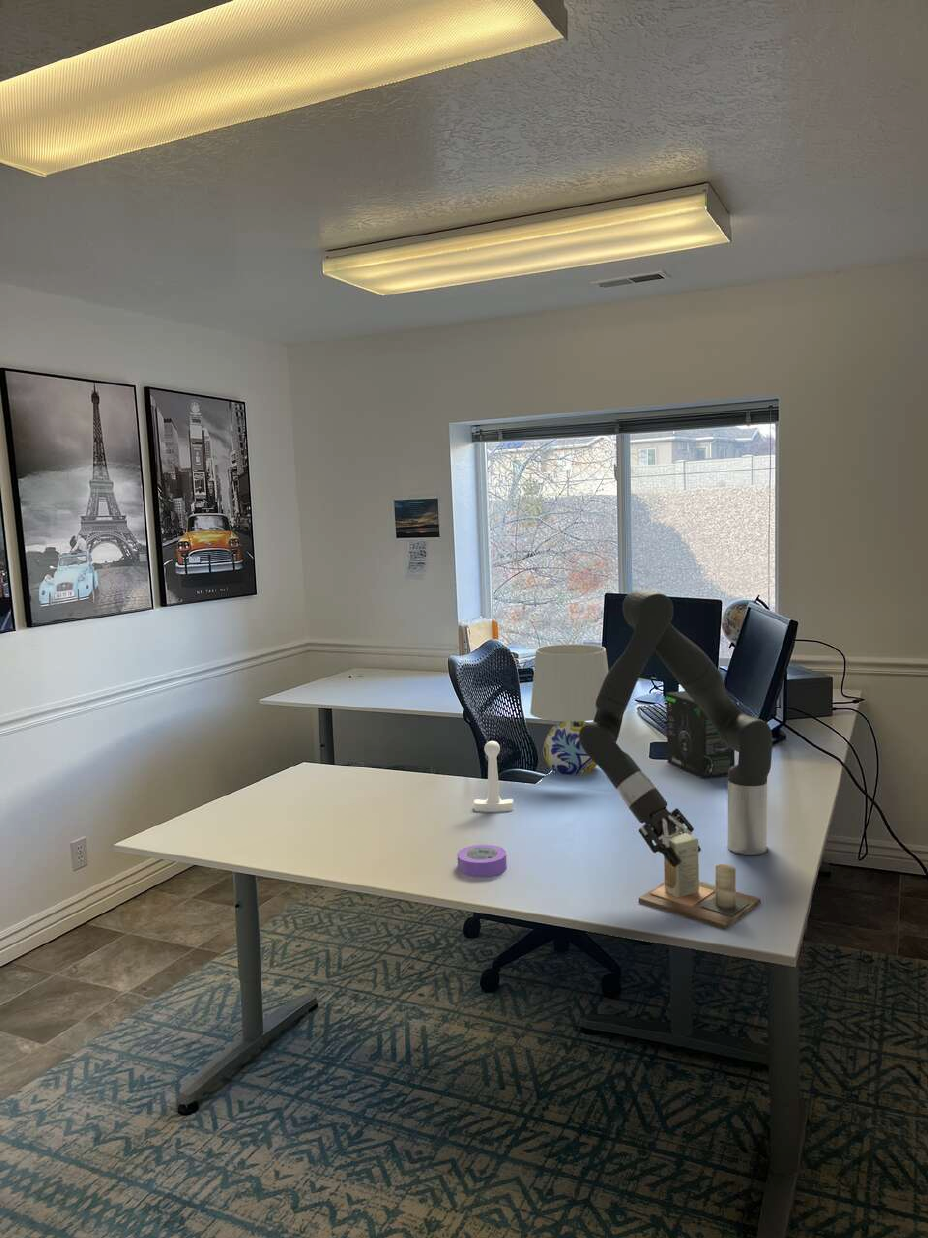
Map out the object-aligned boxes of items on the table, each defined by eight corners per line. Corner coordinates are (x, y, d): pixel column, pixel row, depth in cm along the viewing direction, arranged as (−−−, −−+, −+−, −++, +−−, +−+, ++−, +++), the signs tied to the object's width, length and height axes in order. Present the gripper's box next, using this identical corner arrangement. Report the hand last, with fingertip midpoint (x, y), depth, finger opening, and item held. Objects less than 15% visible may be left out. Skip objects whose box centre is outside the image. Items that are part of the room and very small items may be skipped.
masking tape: (447, 869, 212) (447, 854, 211) (481, 855, 220) (481, 840, 220) (482, 882, 204) (482, 866, 203) (516, 867, 212) (516, 852, 211)
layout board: (676, 879, 202) (676, 839, 201) (760, 903, 188) (761, 861, 187) (638, 902, 190) (638, 860, 189) (725, 930, 177) (725, 885, 175)
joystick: (474, 812, 252) (472, 743, 250) (475, 803, 260) (473, 736, 257) (513, 811, 251) (511, 742, 249) (513, 803, 259) (511, 736, 257)
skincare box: (686, 885, 195) (686, 831, 194) (699, 892, 191) (699, 838, 190) (663, 891, 192) (662, 837, 191) (675, 898, 188) (675, 843, 187)
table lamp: (612, 782, 275) (611, 655, 271) (526, 780, 281) (523, 655, 276) (615, 759, 302) (614, 643, 297) (536, 757, 307) (534, 643, 303)
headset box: (665, 761, 297) (665, 686, 294) (696, 758, 301) (696, 683, 298) (702, 780, 276) (703, 698, 273) (736, 775, 279) (736, 695, 276)
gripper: (634, 795, 189) (682, 860, 183) (668, 780, 199) (715, 840, 193) (613, 814, 193) (659, 878, 187) (648, 798, 204) (693, 858, 197)
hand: (688, 859), depth 190 cm, fingers open, 8 cm apart
